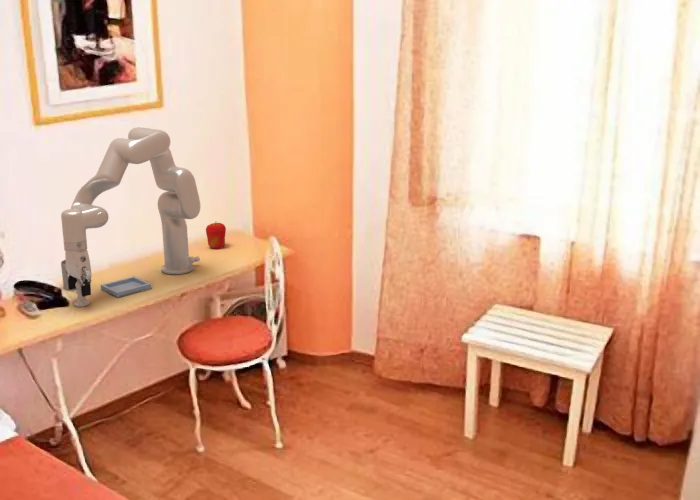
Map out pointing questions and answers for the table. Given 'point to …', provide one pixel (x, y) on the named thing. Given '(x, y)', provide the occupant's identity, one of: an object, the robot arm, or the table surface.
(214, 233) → the apple
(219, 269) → the table surface
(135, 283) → the tray
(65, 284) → the cup
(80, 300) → the chess piece
